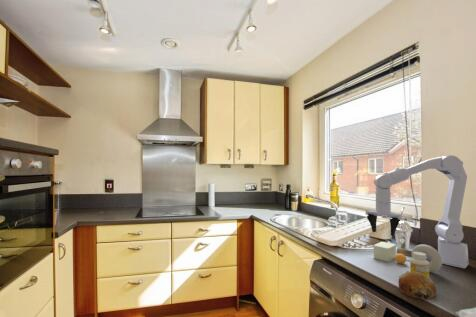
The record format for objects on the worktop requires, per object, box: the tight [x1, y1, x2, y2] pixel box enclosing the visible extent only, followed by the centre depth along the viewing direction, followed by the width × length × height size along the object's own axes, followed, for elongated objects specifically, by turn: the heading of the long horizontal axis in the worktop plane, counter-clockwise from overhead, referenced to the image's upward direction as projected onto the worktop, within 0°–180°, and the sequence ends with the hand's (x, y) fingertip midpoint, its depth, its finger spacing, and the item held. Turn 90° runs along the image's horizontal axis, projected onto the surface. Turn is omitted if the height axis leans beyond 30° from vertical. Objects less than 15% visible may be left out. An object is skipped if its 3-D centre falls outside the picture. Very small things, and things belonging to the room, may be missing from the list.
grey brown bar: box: [396, 247, 428, 260], centre depth 116 cm, size 11×1×2 cm, turn 41°
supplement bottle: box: [409, 252, 430, 278], centre depth 90 cm, size 5×5×10 cm
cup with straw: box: [394, 206, 414, 250], centre depth 124 cm, size 8×9×20 cm
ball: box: [394, 253, 407, 265], centre depth 107 cm, size 4×4×4 cm
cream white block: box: [373, 241, 397, 263], centre depth 114 cm, size 9×6×5 cm, turn 132°
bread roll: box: [398, 270, 437, 300], centre depth 82 cm, size 10×10×8 cm
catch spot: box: [405, 255, 412, 262], centre depth 112 cm, size 6×6×1 cm
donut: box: [410, 243, 443, 273], centre depth 99 cm, size 10×3×10 cm, turn 32°
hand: (383, 233), depth 114 cm, fingers open, 7 cm apart
